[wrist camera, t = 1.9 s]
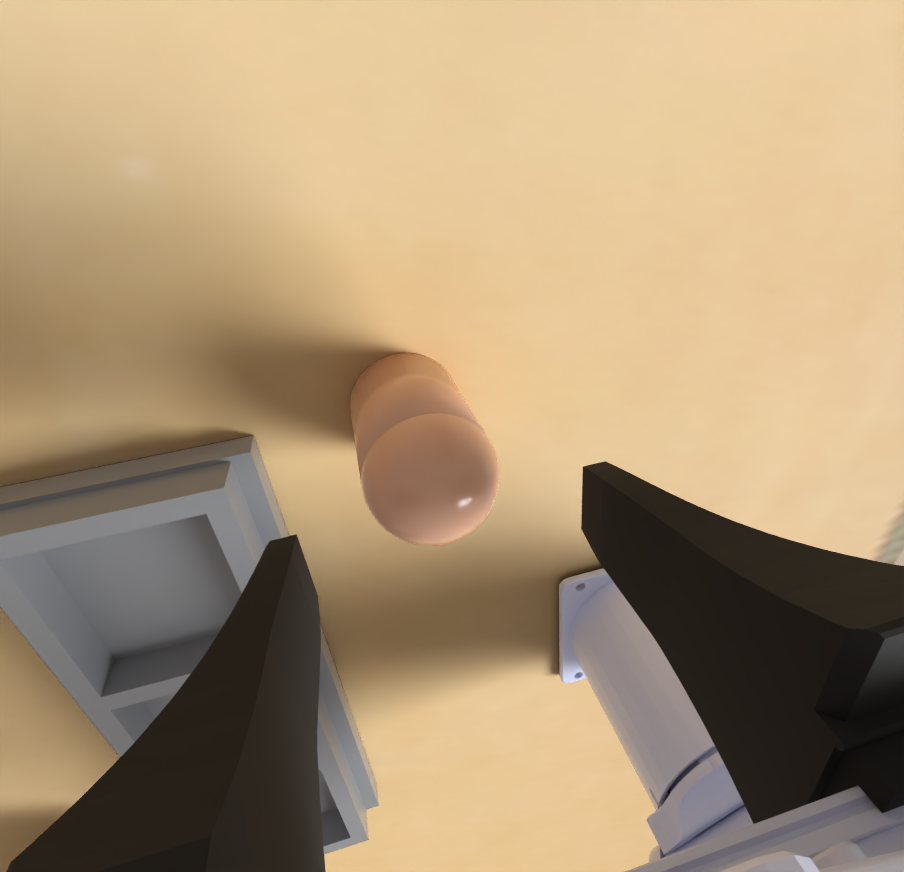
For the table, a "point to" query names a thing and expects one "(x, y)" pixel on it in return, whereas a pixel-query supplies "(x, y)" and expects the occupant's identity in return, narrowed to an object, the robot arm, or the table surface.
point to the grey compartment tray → (159, 595)
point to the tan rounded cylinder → (421, 451)
